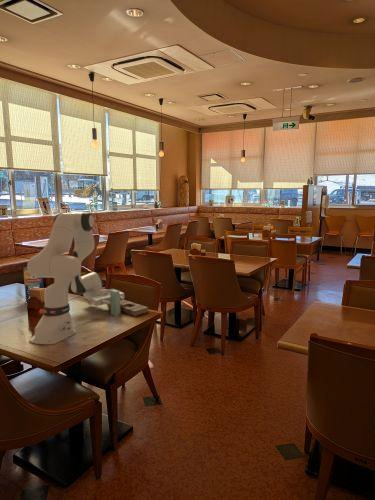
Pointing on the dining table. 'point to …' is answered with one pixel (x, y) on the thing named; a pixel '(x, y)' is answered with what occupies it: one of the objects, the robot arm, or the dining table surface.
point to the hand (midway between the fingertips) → (116, 301)
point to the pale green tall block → (115, 302)
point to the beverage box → (31, 282)
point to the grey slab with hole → (132, 308)
